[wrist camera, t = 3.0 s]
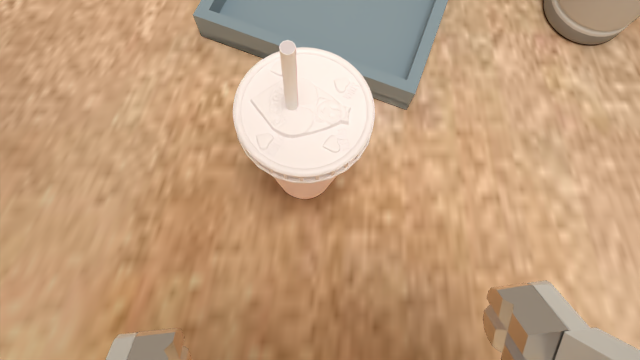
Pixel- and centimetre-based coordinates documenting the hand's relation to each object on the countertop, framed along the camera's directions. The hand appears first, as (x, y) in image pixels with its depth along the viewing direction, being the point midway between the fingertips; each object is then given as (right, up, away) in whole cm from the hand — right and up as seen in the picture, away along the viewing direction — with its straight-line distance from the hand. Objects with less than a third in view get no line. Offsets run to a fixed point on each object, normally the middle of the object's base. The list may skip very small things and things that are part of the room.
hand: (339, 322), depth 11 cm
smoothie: (-2, +4, +16) cm, 17 cm away
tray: (+1, +19, +20) cm, 28 cm away
